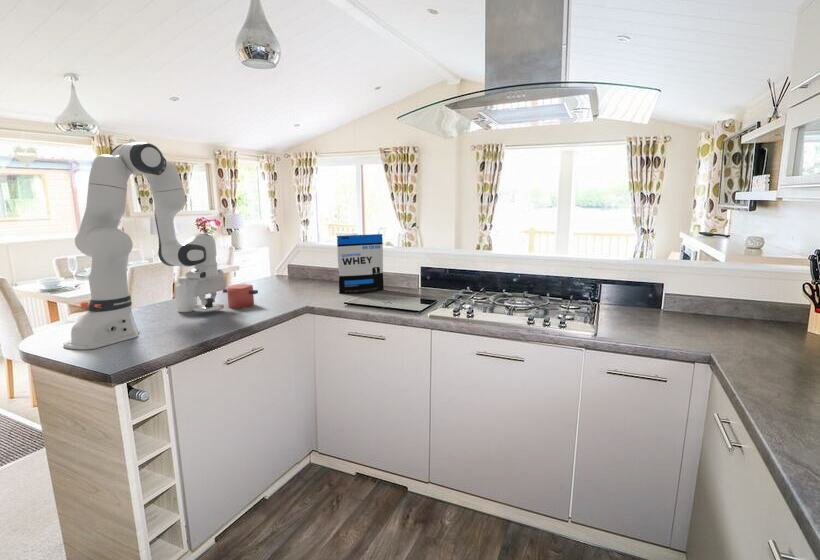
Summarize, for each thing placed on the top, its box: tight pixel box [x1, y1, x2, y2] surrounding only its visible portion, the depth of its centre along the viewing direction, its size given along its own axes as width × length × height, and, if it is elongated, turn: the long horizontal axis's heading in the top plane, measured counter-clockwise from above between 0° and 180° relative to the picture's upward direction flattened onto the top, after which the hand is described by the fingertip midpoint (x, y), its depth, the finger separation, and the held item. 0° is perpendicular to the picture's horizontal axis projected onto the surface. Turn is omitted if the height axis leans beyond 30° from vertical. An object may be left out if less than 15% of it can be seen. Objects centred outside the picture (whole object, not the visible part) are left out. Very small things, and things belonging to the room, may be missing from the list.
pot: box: [222, 283, 259, 310], centre depth 198 cm, size 11×17×9 cm, turn 75°
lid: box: [193, 297, 225, 313], centre depth 186 cm, size 12×12×4 cm
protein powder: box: [336, 233, 385, 295], centre depth 225 cm, size 10×24×30 cm, turn 113°
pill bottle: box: [175, 276, 199, 313], centre depth 190 cm, size 8×8×15 cm
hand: (208, 303), depth 186 cm, fingers closed on lid, 3 cm apart
